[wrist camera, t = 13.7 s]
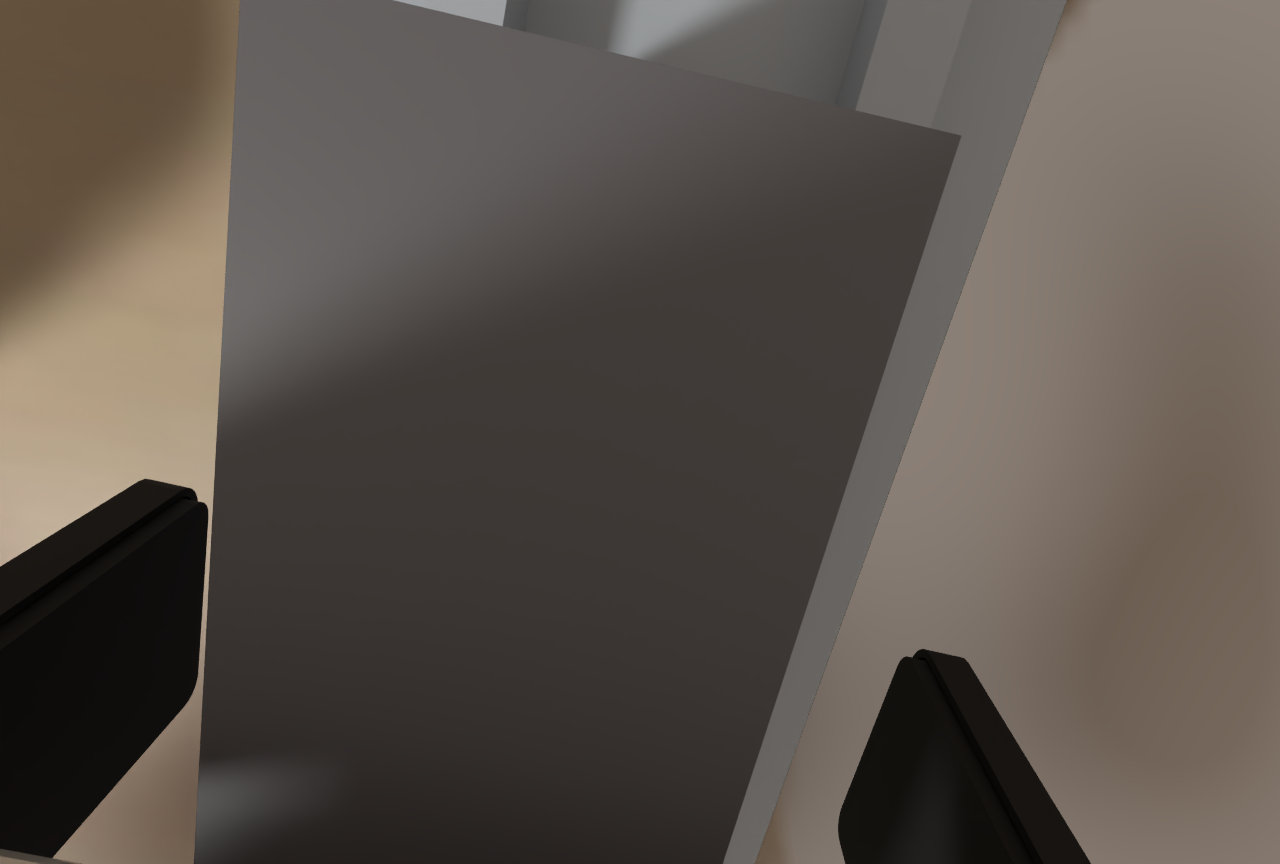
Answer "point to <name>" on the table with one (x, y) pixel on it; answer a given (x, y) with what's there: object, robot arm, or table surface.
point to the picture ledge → (989, 126)
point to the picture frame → (526, 434)
